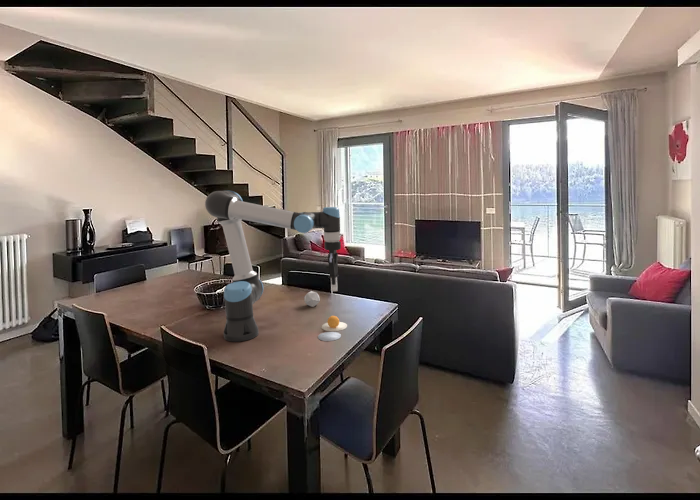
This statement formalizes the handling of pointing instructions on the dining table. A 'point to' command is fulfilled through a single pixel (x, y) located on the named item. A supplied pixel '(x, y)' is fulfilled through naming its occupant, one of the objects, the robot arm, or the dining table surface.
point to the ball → (333, 321)
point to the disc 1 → (338, 328)
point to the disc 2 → (329, 336)
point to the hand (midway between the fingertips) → (334, 290)
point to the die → (311, 298)
